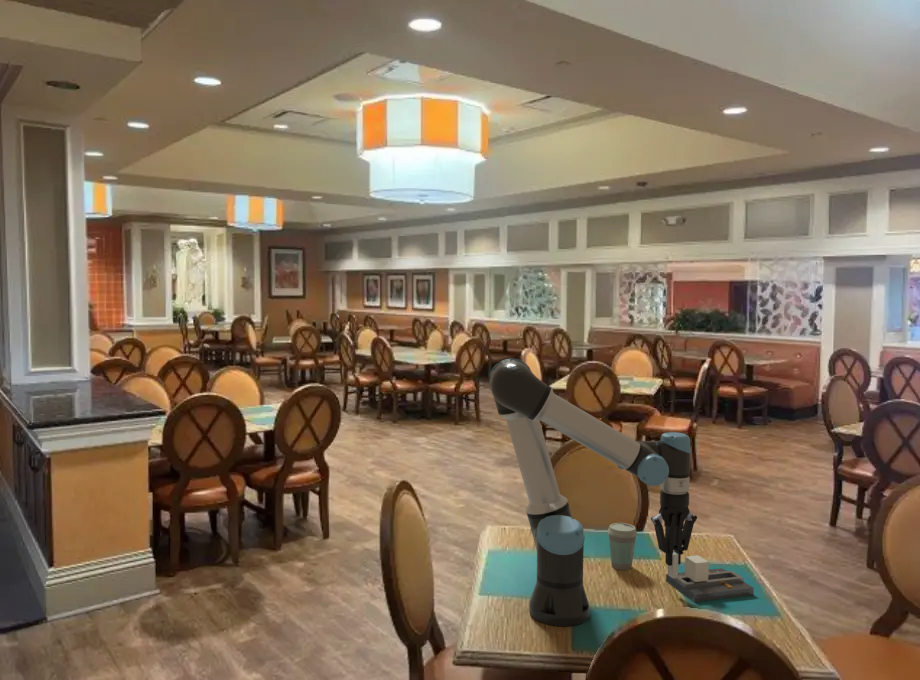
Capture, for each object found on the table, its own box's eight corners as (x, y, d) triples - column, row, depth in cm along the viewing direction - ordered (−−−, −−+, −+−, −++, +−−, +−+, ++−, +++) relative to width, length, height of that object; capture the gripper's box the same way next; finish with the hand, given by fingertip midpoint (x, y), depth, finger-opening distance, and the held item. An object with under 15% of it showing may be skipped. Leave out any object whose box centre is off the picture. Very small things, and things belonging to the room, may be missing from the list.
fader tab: (694, 586, 195) (695, 563, 195) (684, 579, 200) (685, 556, 200) (708, 585, 196) (708, 561, 196) (697, 577, 201) (698, 555, 201)
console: (694, 602, 190) (694, 591, 190) (666, 581, 204) (666, 570, 204) (753, 594, 195) (753, 584, 195) (721, 574, 208) (722, 564, 208)
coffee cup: (637, 573, 209) (638, 532, 209) (606, 570, 211) (607, 530, 210) (635, 562, 218) (636, 523, 217) (606, 559, 220) (607, 521, 219)
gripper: (660, 496, 189) (658, 584, 191) (704, 492, 192) (701, 579, 194) (645, 488, 196) (644, 573, 198) (688, 485, 200) (686, 568, 201)
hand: (672, 576), depth 196 cm, fingers closed
